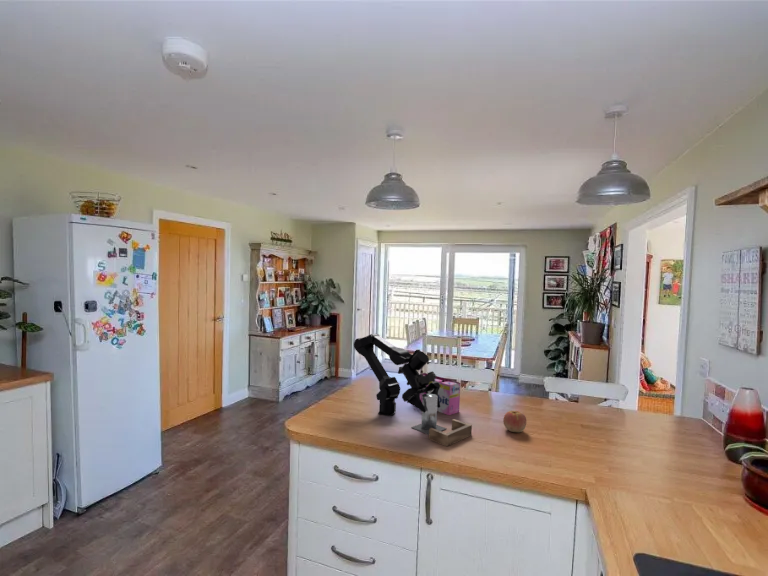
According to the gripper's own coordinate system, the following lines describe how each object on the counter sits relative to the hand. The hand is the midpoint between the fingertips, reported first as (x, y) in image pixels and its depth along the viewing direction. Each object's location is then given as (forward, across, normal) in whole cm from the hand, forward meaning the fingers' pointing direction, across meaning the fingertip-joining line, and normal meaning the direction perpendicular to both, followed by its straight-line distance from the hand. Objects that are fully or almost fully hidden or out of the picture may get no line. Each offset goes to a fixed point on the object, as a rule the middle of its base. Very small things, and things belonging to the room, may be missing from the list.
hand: (432, 409), depth 160 cm
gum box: (-6, +24, +18) cm, 30 cm away
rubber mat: (+5, 0, +7) cm, 8 cm away
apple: (+22, +25, -10) cm, 35 cm away
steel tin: (+4, 0, +6) cm, 8 cm away
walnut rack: (+12, 0, -1) cm, 12 cm away
